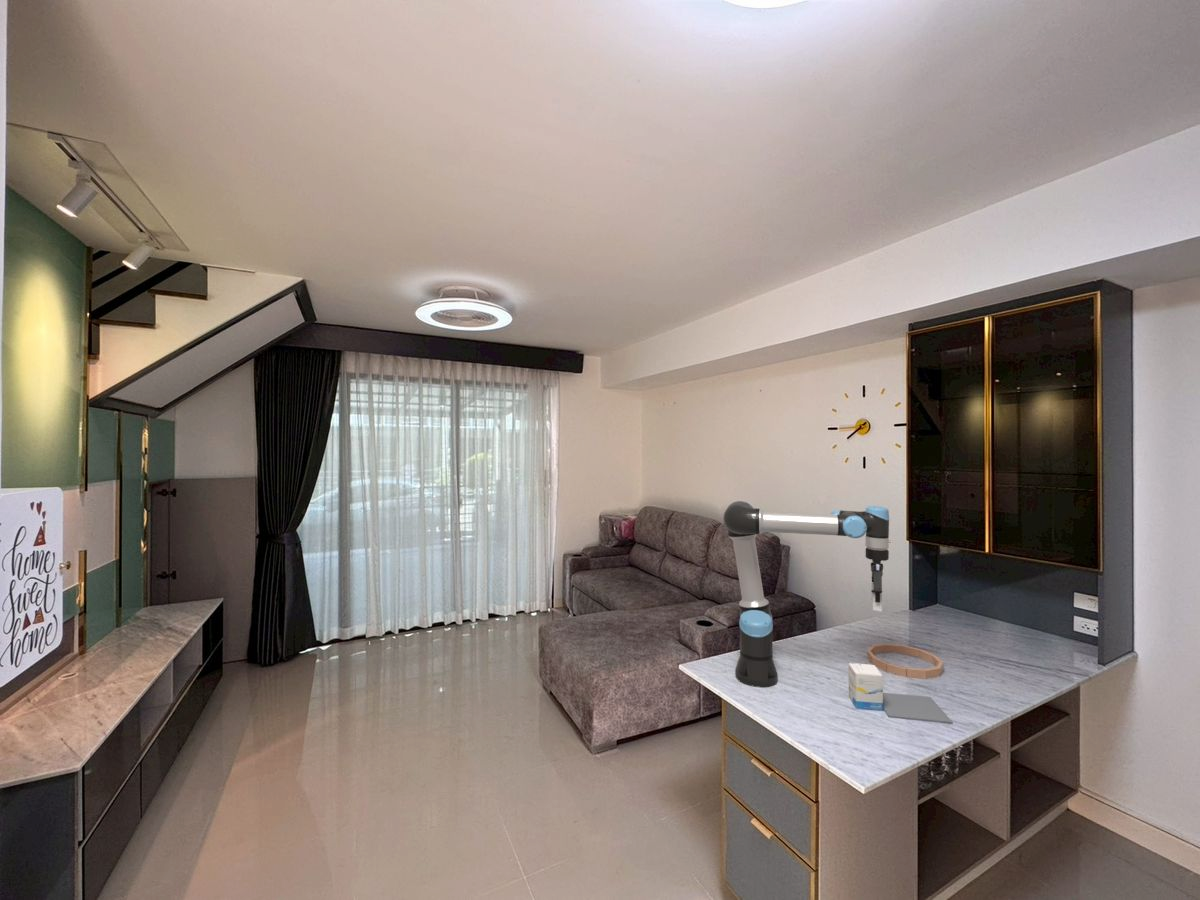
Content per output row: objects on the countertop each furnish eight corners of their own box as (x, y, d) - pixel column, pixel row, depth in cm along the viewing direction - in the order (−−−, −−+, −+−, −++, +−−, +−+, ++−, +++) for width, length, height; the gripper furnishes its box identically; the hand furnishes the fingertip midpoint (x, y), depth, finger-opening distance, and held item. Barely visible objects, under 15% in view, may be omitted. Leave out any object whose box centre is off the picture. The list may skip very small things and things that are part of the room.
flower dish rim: (879, 675, 186) (879, 667, 186) (860, 649, 211) (860, 642, 211) (954, 681, 181) (954, 673, 181) (925, 653, 205) (925, 646, 205)
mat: (888, 717, 157) (888, 715, 157) (872, 693, 173) (872, 691, 173) (952, 723, 153) (952, 722, 153) (930, 698, 169) (930, 696, 169)
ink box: (883, 711, 161) (883, 675, 161) (855, 708, 162) (855, 673, 162) (874, 698, 169) (874, 664, 169) (848, 696, 171) (847, 662, 171)
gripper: (891, 555, 171) (890, 617, 171) (886, 543, 193) (885, 597, 193) (866, 553, 174) (865, 613, 175) (864, 541, 197) (864, 595, 197)
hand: (876, 605), depth 184 cm, fingers open, 13 cm apart
